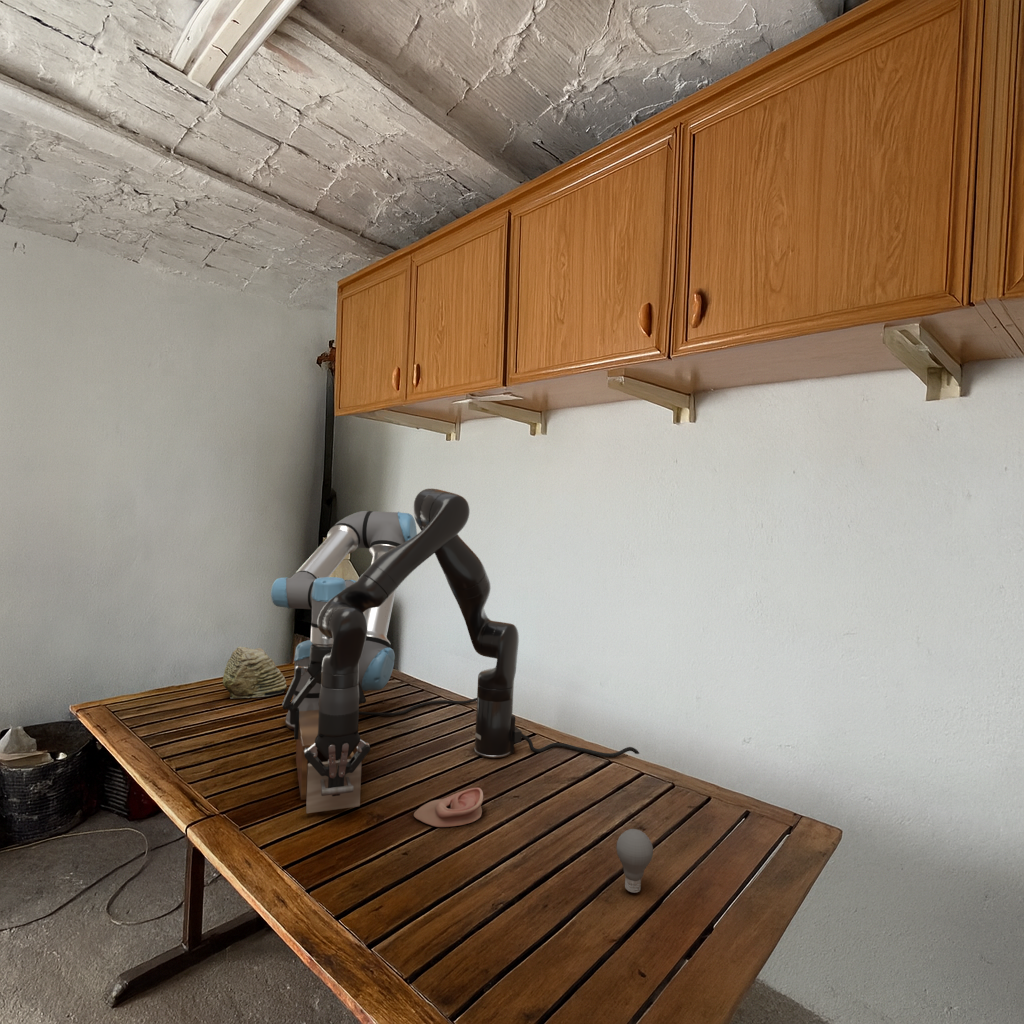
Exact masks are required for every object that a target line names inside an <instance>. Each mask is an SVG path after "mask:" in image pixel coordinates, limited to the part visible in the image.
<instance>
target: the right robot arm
mask: <svg viewBox="0 0 1024 1024" xmlns="http://www.w3.org/2000/svg"><path fill="white" fill-rule="evenodd" d="M412 508H413V510H412V512H413V518H414V520H415V523H416V525H417V526H418V528H419V530H420V532H417V535H416V536H414V537H413V538H411V539H410V540H408V541H406V542H404V543H403V544H401V545H399V546H397V547H395V548H393V549H391V550H389V551H388V552H386V553H384V554H383V555H382V556H380V557H379V558H378V559H377V560H376V561H374V562H373V563H372V562H371V563H372V564H371V563H370V565H369V566H368V567H367V569H365V571H364V572H363V573H362V574H361V575H360V576H359V577H358V578H357V579H356V580H355V581H356V582H355V583H353V584H352V585H350V586H349V587H347V588H345V589H344V590H343V591H341V592H340V593H339V594H337V595H336V596H335V597H333V598H332V599H331V600H330V601H329V602H328V603H327V604H326V605H325V606H324V607H323V608H322V610H321V612H320V613H319V616H318V620H317V625H318V628H319V630H320V632H321V633H322V634H324V635H325V636H327V637H329V638H332V639H333V645H332V650H331V652H330V653H328V654H326V655H325V656H324V658H323V661H322V672H321V689H320V695H319V703H318V705H319V718H318V735H317V737H316V739H315V743H314V744H313V745H312V746H311V747H309V748H308V747H307V748H305V749H304V756H305V758H306V759H307V760H308V761H309V763H310V764H311V765H312V766H313V767H314V768H315V769H316V771H317V772H318V773H319V774H320V775H321V776H328V788H333V787H341V786H344V776H345V775H346V774H347V773H353V772H354V770H355V769H356V768H357V767H358V765H359V764H360V763H361V761H362V762H363V760H364V759H365V758H366V756H367V755H368V754H369V753H370V752H371V746H370V744H369V742H368V741H364V740H363V739H361V736H360V733H359V716H360V715H359V712H360V705H359V686H358V682H359V661H360V658H361V655H362V651H363V648H364V644H365V640H366V636H367V621H366V617H365V615H364V613H363V612H364V611H366V610H367V609H369V608H376V607H379V606H381V605H382V604H383V603H384V602H385V601H386V600H387V599H388V598H389V596H390V595H391V594H392V593H393V592H394V591H395V590H396V591H397V589H398V588H399V587H400V586H401V584H402V583H403V582H404V581H405V580H406V579H407V578H408V577H409V576H410V575H411V574H412V573H414V571H415V570H416V569H417V568H418V567H420V566H421V565H422V564H423V563H424V562H425V561H427V560H428V559H429V558H430V557H431V556H433V555H435V557H436V559H437V561H438V564H439V566H440V568H441V570H442V572H443V574H444V576H445V578H446V579H445V580H446V581H447V584H448V586H449V588H450V590H451V593H452V595H453V597H454V598H455V601H456V603H457V605H458V607H459V609H460V612H461V615H462V617H463V620H464V622H465V625H466V629H467V632H468V635H469V638H470V642H471V645H472V647H473V649H474V651H475V652H476V653H477V654H478V655H479V656H482V657H484V658H491V659H496V662H495V663H496V664H495V667H493V668H488V669H487V668H486V669H484V670H481V671H480V672H479V673H478V675H477V693H476V696H477V697H476V698H477V701H476V712H475V713H476V714H475V715H476V716H475V734H474V736H475V737H474V738H475V739H474V749H473V751H474V753H475V754H476V755H477V756H479V757H482V758H486V759H502V758H506V757H508V756H510V755H511V754H512V755H513V754H514V753H515V744H517V743H522V739H523V740H525V741H526V742H527V743H528V746H529V747H528V748H529V749H530V750H531V752H533V753H542V752H545V751H547V750H549V749H552V748H565V749H568V750H572V751H576V752H580V753H585V754H588V755H593V756H597V757H602V758H616V757H620V756H622V755H623V754H625V753H628V752H632V753H634V754H635V755H639V754H640V752H639V751H638V749H636V748H635V747H632V746H626V747H625V748H622V749H620V750H619V751H617V752H616V751H615V752H611V753H610V752H608V753H607V752H601V751H596V750H593V749H590V748H586V747H585V748H584V747H580V746H576V745H572V744H569V743H563V742H552V743H549V744H547V745H545V746H543V747H541V748H536V747H535V746H534V744H533V741H532V740H531V738H530V737H529V736H527V735H525V734H523V731H522V730H521V729H520V728H519V727H517V726H516V716H515V715H514V714H513V711H514V688H515V678H516V673H517V663H518V653H519V642H520V638H519V637H520V635H519V631H518V627H517V625H515V624H514V623H510V622H503V621H498V620H491V619H490V618H489V617H488V614H486V610H485V606H486V604H487V601H488V599H489V597H490V594H491V589H492V587H491V582H490V578H489V576H488V573H487V571H486V569H485V566H484V564H483V562H482V561H481V559H480V558H479V556H478V555H477V554H476V553H475V552H474V551H473V550H472V549H471V547H470V546H469V545H468V544H467V543H466V542H465V541H464V539H462V538H461V537H460V535H459V533H460V532H461V531H462V530H463V529H464V528H465V527H466V525H467V523H468V521H469V518H470V511H471V510H470V505H469V502H468V501H467V499H466V498H465V497H464V496H462V495H460V494H457V493H454V492H450V491H448V490H447V491H446V490H443V489H439V488H425V489H423V490H421V491H419V492H418V493H417V495H416V496H415V498H414V501H413V506H412ZM396 591H395V592H396ZM357 745H358V746H357ZM356 746H357V751H356V753H355V754H354V755H353V757H352V758H351V759H350V760H349V762H348V763H347V757H348V756H350V754H351V753H352V752H353V750H354V749H355V748H356ZM317 749H318V750H319V751H320V752H321V753H322V755H323V756H324V757H325V758H326V759H328V767H326V766H325V765H324V764H323V763H322V762H321V761H320V760H319V758H318V757H317V755H318V753H317ZM336 759H338V767H337V773H336ZM339 795H340V794H334V795H332V796H339Z"/></svg>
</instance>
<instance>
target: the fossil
mask: <svg viewBox="0 0 1024 1024" xmlns="http://www.w3.org/2000/svg"><path fill="white" fill-rule="evenodd" d="M222 676H223V677H222V685H223V687H224V688H225V690H226V691H228V693H229V698H230V699H250V698H264V697H271V696H275V695H281V694H284V693H285V691H286V689H287V687H288V686H287V680H286V678H285V676H284V674H283V673H282V672H281V669H279V668H278V667H277V665H276V663H275V662H274V660H273V659H272V658H271V657H270V656H269V655H268V654H267V653H266V652H265V650H264V649H263V648H260V647H258V648H251V647H247V646H246V647H245V646H238V647H237V648H236V649H235V650H233V651H232V653H231V656H230V657H229V659H228V660H227V663H226V666H225V668H224V671H223V675H222Z"/></svg>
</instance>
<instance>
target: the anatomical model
mask: <svg viewBox="0 0 1024 1024" xmlns="http://www.w3.org/2000/svg"><path fill="white" fill-rule="evenodd" d="M483 802H484V792H483V790H482V788H480V787H471V788H467V789H464V790H461V791H458V792H456V793H454V794H451V795H449V796H446V797H444V798H441V799H440V798H439V799H434V800H430V801H429V802H427V803H424V804H423V805H421V806H419V808H418V809H417V810H415V811H414V813H413V817H414V818H415V819H416V820H417V821H419V822H422V823H424V824H426V825H428V826H432V827H434V828H435V827H436V828H449V827H450V828H451V827H457V826H464V825H467V824H471V823H474V822H475V821H477V820H479V819H480V818H481V817H482V814H483V809H482V805H483Z"/></svg>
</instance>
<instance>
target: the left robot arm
mask: <svg viewBox="0 0 1024 1024" xmlns="http://www.w3.org/2000/svg"><path fill="white" fill-rule="evenodd" d="M417 534H418V530H417V522H416V520H415V517H414V515H412V514H411V513H408V512H401V511H397V512H396V511H378V510H377V511H375V510H360V511H357V512H354V513H352V514H349V515H347V516H345V517H343V518H342V519H340V520H339V521H337V522H336V523H335V524H334V525H332V527H331V528H330V529H329V531H328V532H327V535H326V538H325V540H324V541H322V543H321V544H319V546H318V547H317V548H316V549H315V550H314V552H313V553H312V554H311V555H310V556H309V558H307V559H306V560H305V562H304V563H302V565H301V566H300V567H299V568H298V570H296V571H295V573H294V574H293V575H292V576H291V577H288V576H285V577H278V578H276V579H275V580H274V582H273V583H272V585H271V589H270V590H271V591H270V597H271V602H272V603H273V605H274V606H275V607H278V608H279V607H280V608H287V609H288V610H289V609H297V610H298V609H299V610H300V609H301V610H311V622H310V623H311V624H310V639H307V640H304V641H302V642H299V643H298V644H297V645H296V647H295V652H294V653H295V654H294V659H293V661H294V672H293V678H292V680H291V683H290V684H289V687H288V689H287V692H286V693H285V695H284V699H283V701H282V702H281V705H282V706H281V707H282V709H283V710H288V711H287V713H286V715H285V726H286V728H287V729H289V730H291V731H293V736H294V740H295V741H297V740H298V730H299V711H309V710H319V705H318V703H319V695H320V689H321V672H322V661H323V658H324V656H325V655H326V654H328V653H330V652H331V650H332V645H333V639H332V638H329V637H327V636H325V635H324V634H322V633H321V632H320V630H319V628H318V625H317V620H318V616H319V613H320V612H321V610H322V608H323V607H324V606H325V605H326V604H327V603H328V602H329V601H330V600H331V599H332V598H333V597H335V596H336V595H337V594H339V593H340V592H341V591H343V590H344V589H345V588H347V587H349V586H350V585H352V584H353V583H355V582H356V581H357V580H355V579H344V578H342V577H339V576H338V577H336V576H332V574H333V573H334V572H335V570H336V569H337V568H338V567H339V565H341V564H342V562H343V560H344V559H345V558H346V557H347V556H348V555H350V554H352V553H354V552H355V551H356V550H359V549H368V551H369V553H370V555H371V556H372V559H371V563H370V565H371V564H372V563H373V562H374V561H376V560H377V559H378V558H379V557H380V556H382V555H383V554H384V553H386V552H388V551H389V550H391V549H393V548H395V547H397V546H399V545H401V544H403V543H404V542H406V541H408V540H410V539H411V538H413V537H414V536H416V535H417ZM396 592H397V589H396V590H395V591H394V592H393V593H392V594H391V595H390V596H389V598H388V599H387V600H386V601H385V602H384V603H383V604H382V605H381V606H379V607H376V608H369V609H367V610H366V611H364V612H363V613H364V615H365V617H366V621H367V636H366V640H365V644H364V648H363V651H362V655H361V658H360V661H359V682H358V686H359V706H360V705H362V704H365V703H366V702H367V698H366V695H365V694H364V692H368V691H381V690H382V689H384V688H385V687H386V685H388V683H389V681H390V680H391V677H392V674H393V671H394V666H395V658H396V655H395V651H394V649H392V648H391V641H390V640H389V639H388V637H387V636H388V631H389V626H390V621H391V616H392V611H393V606H394V601H395V595H396ZM475 702H477V697H474V698H472V699H469V700H449V699H448V700H447V699H440V700H431V701H425V702H421V703H418V704H414V705H412V706H410V707H408V708H407V709H404V710H400V711H395V712H376V711H375V712H374V711H359V716H379V717H391V716H393V717H394V716H399V715H400V716H401V715H404V714H407V713H410V712H411V711H412V710H415V709H418V708H421V707H424V706H428V705H434V704H454V705H463V704H464V705H466V704H470V703H475Z"/></svg>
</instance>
